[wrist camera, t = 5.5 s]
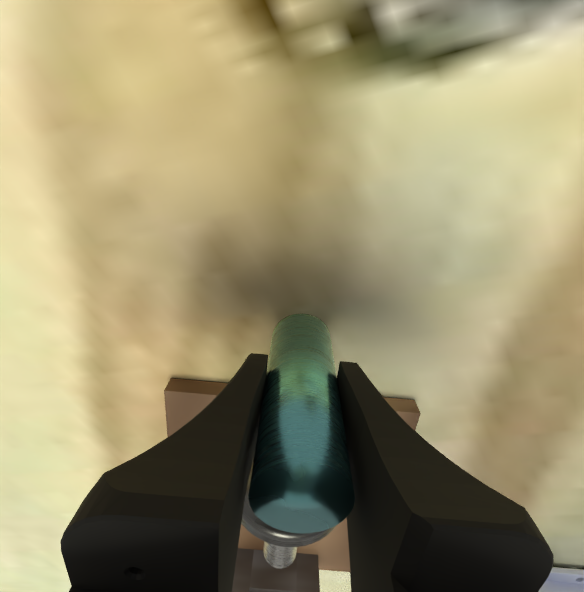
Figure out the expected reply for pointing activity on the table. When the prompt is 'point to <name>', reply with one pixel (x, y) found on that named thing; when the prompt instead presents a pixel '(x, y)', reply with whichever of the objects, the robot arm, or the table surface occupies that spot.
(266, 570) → the eye stand
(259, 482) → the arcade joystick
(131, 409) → the table surface
